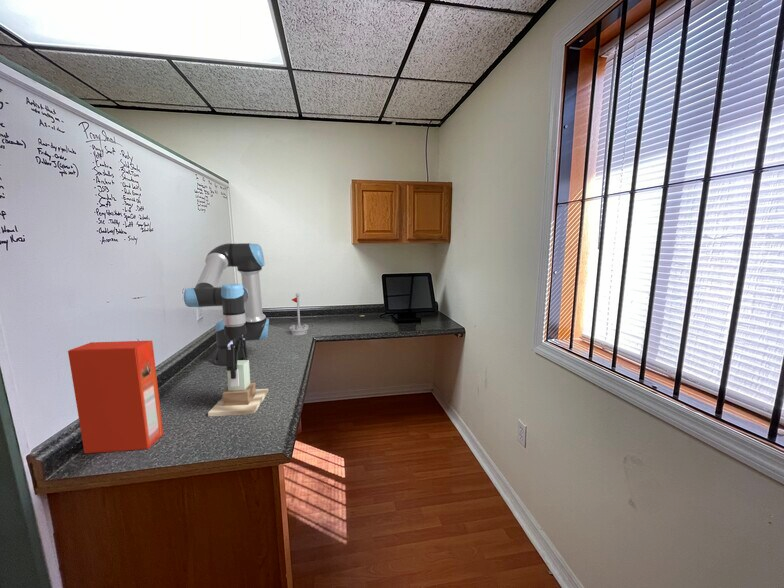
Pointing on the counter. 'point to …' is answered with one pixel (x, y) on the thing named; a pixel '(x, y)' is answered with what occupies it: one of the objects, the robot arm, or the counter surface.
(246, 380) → the sage pillar
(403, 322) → the counter surface
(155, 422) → the file binder
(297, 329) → the flag stand
